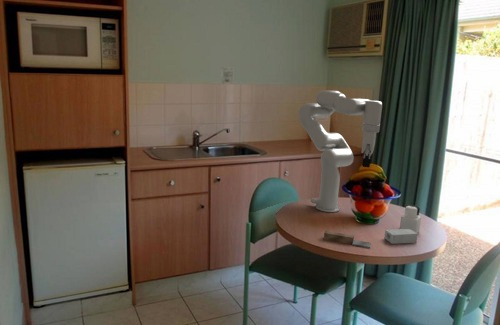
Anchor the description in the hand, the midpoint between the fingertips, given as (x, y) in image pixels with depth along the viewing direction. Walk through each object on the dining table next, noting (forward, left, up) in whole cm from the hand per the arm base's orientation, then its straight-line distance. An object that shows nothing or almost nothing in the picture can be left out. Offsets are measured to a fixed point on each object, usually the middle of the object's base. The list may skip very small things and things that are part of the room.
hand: (366, 165), depth 196 cm
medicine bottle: (+22, 0, -28) cm, 36 cm away
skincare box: (+13, -18, -26) cm, 34 cm away
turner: (-3, -27, -28) cm, 39 cm away
